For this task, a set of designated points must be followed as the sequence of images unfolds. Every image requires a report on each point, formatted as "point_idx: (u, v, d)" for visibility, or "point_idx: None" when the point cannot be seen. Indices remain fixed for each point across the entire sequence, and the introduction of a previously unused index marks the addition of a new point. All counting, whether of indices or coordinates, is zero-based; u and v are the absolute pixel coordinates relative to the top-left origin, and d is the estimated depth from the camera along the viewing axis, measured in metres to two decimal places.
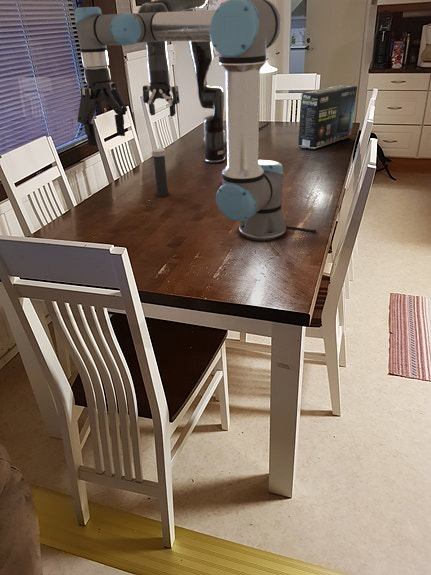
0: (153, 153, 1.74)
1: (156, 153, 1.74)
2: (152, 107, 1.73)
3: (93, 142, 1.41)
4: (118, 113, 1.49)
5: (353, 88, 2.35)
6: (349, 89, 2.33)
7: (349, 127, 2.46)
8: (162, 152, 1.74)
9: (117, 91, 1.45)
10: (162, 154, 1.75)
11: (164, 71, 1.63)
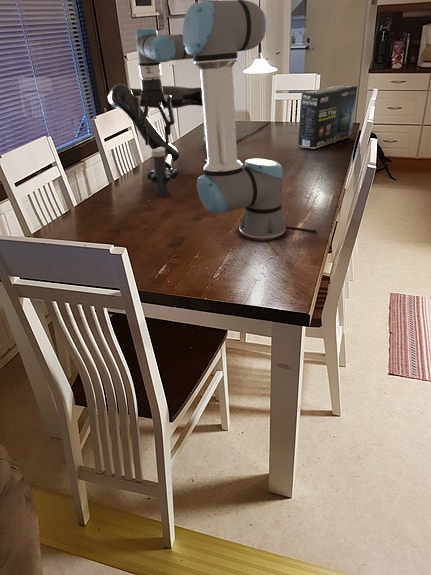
0: (153, 153, 1.74)
1: (156, 153, 1.74)
2: None
3: (168, 140, 1.74)
4: (144, 124, 1.71)
5: (353, 88, 2.35)
6: (349, 89, 2.33)
7: (349, 127, 2.46)
8: (162, 152, 1.74)
9: None
10: (162, 154, 1.75)
11: None
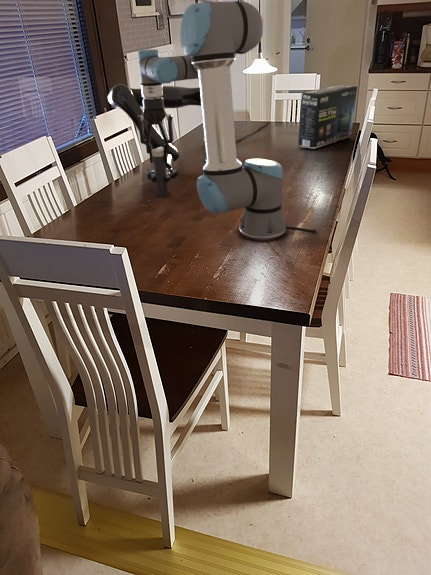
0: (153, 153, 1.74)
1: (156, 153, 1.74)
2: None
3: (167, 158, 1.78)
4: (149, 142, 1.74)
5: (353, 88, 2.35)
6: (349, 89, 2.33)
7: (349, 127, 2.46)
8: (162, 152, 1.74)
9: None
10: (162, 154, 1.75)
11: None
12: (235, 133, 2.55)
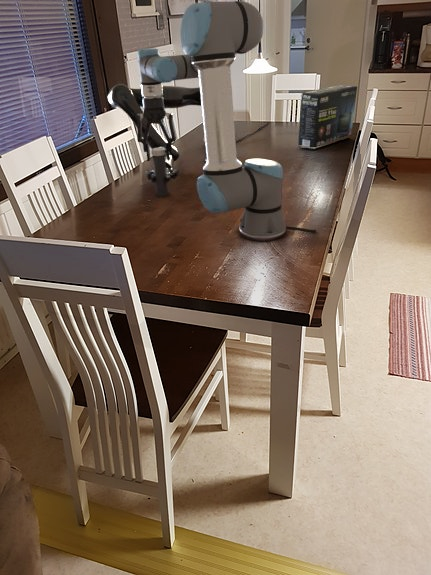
0: (160, 152, 1.74)
1: (163, 151, 1.75)
2: None
3: (169, 156, 1.77)
4: (146, 141, 1.74)
5: (353, 88, 2.35)
6: (349, 89, 2.33)
7: (349, 127, 2.46)
8: None
9: None
10: None
11: None
12: (235, 133, 2.55)
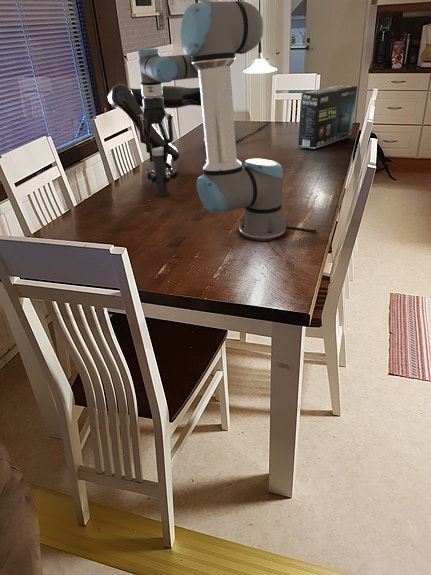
0: (160, 152, 1.74)
1: (163, 151, 1.75)
2: None
3: (167, 157, 1.78)
4: (149, 142, 1.74)
5: (353, 88, 2.35)
6: (349, 89, 2.33)
7: (349, 127, 2.46)
8: None
9: None
10: None
11: None
12: (235, 133, 2.55)
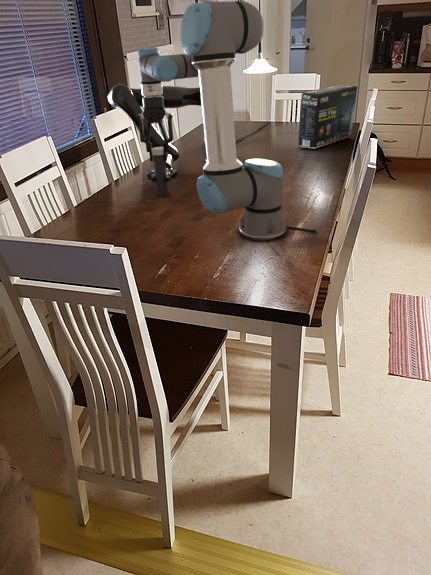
0: None
1: None
2: None
3: (167, 157, 1.77)
4: (149, 141, 1.74)
5: (353, 88, 2.35)
6: (349, 89, 2.33)
7: (349, 127, 2.46)
8: None
9: None
10: None
11: None
12: (235, 133, 2.55)
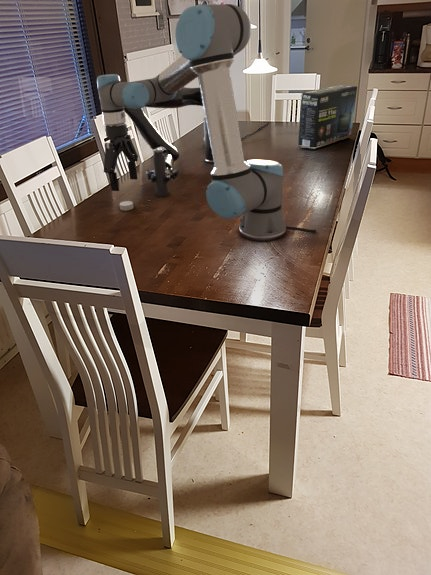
0: None
1: None
2: None
3: None
4: None
5: (353, 88, 2.35)
6: (349, 89, 2.33)
7: (349, 127, 2.46)
8: (120, 205, 1.72)
9: None
10: None
11: None
12: None
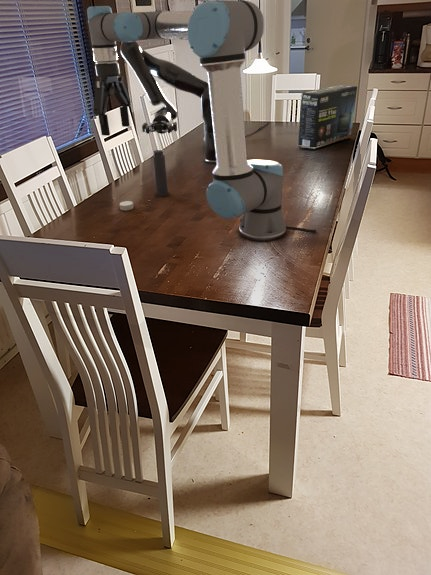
0: None
1: None
2: None
3: None
4: None
5: (353, 88, 2.35)
6: (349, 89, 2.33)
7: (349, 127, 2.46)
8: (120, 205, 1.72)
9: None
10: None
11: None
12: None
